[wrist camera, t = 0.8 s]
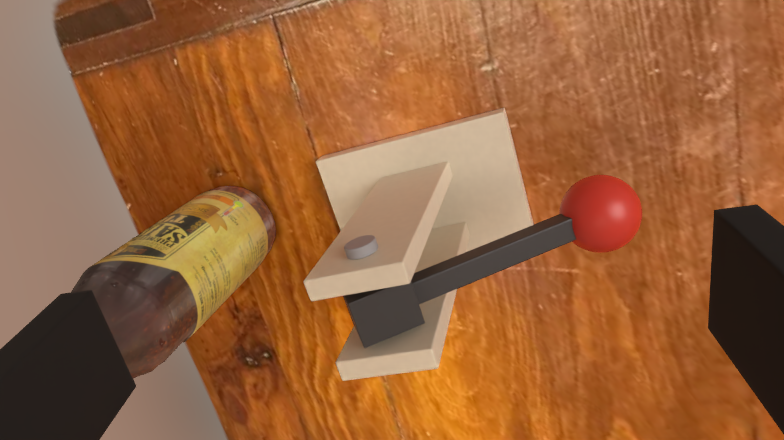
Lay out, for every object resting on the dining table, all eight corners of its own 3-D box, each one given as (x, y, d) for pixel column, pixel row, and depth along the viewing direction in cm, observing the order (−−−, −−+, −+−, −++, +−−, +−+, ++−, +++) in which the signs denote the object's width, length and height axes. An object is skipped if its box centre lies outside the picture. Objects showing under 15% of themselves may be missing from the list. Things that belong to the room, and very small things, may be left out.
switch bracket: (504, 107, 34) (487, 192, 20) (538, 244, 36) (543, 398, 23) (321, 156, 37) (205, 255, 24) (364, 277, 40) (282, 426, 27)
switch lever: (603, 158, 28) (652, 170, 25) (616, 225, 29) (665, 244, 26) (331, 265, 26) (344, 294, 23) (356, 332, 27) (372, 369, 24)
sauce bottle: (248, 166, 39) (6, 328, 21) (296, 243, 40) (109, 456, 22) (178, 204, 41) (-92, 379, 23) (226, 276, 43) (7, 492, 25)
